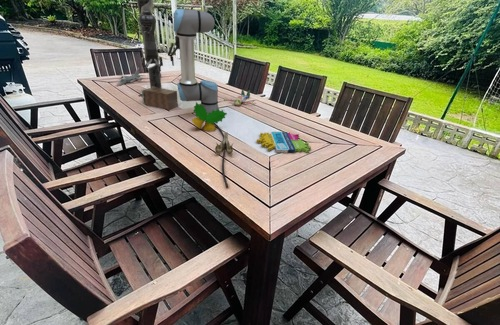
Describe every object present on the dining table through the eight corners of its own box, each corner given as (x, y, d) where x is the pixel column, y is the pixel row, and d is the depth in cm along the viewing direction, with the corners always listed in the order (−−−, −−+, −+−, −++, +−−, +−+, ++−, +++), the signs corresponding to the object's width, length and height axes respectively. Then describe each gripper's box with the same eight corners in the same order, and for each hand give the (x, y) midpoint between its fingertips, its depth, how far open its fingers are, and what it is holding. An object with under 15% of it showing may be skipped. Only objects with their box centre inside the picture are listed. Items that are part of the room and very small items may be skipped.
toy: (261, 91, 228) (254, 99, 202) (261, 99, 231) (253, 108, 205) (231, 87, 233) (220, 95, 207) (230, 95, 236) (219, 104, 210)
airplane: (112, 78, 264) (110, 67, 259) (144, 76, 278) (143, 66, 272) (114, 87, 236) (112, 76, 231) (151, 85, 249) (149, 74, 244)
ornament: (218, 133, 171) (224, 110, 169) (221, 134, 163) (227, 111, 161) (186, 125, 162) (192, 101, 160) (189, 126, 155) (195, 101, 153)
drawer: (137, 102, 199) (135, 89, 195) (146, 99, 207) (144, 86, 203) (165, 107, 192) (163, 94, 187) (173, 104, 200) (172, 91, 195)
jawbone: (234, 135, 144) (233, 125, 135) (233, 160, 138) (232, 151, 129) (217, 135, 144) (216, 125, 135) (216, 160, 138) (214, 150, 129)
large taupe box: (145, 105, 197) (143, 89, 191) (155, 101, 206) (153, 86, 200) (169, 109, 191) (167, 94, 185) (178, 106, 200) (176, 91, 194)
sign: (313, 150, 142) (258, 149, 139) (312, 153, 143) (258, 152, 140) (301, 132, 164) (254, 130, 161) (301, 134, 165) (254, 133, 162)
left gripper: (158, 47, 185) (160, 70, 193) (138, 47, 177) (141, 72, 185) (162, 48, 181) (165, 72, 189) (142, 49, 172) (145, 74, 180)
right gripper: (195, 36, 205) (196, 64, 215) (162, 34, 195) (164, 64, 206) (197, 36, 199) (198, 66, 209) (163, 35, 189) (166, 66, 200)
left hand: (153, 72), depth 187 cm, fingers open, 8 cm apart
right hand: (181, 65), depth 207 cm, fingers open, 13 cm apart
